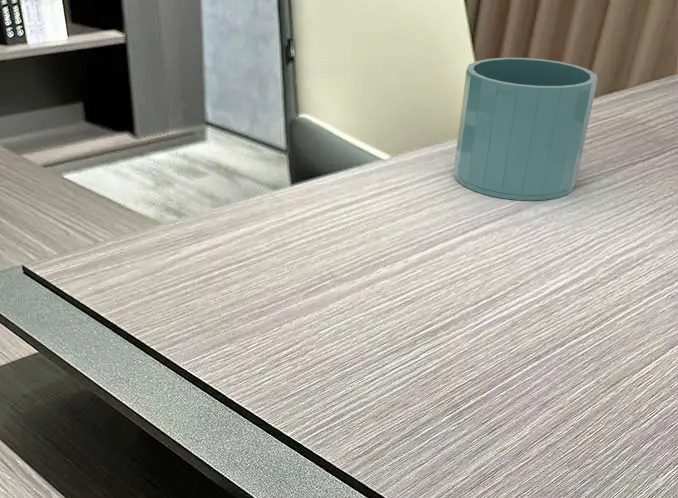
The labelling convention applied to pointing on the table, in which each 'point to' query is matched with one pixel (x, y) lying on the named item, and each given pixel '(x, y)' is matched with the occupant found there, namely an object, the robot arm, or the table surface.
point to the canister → (523, 127)
